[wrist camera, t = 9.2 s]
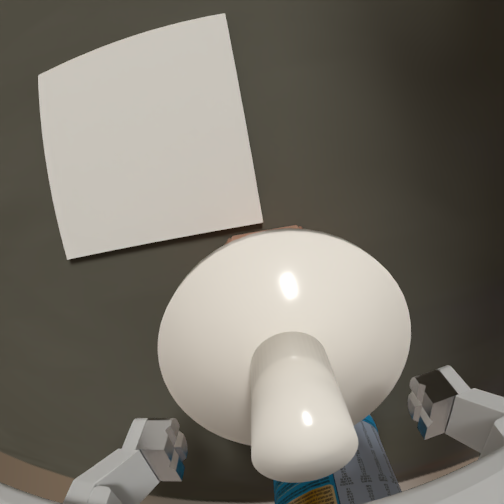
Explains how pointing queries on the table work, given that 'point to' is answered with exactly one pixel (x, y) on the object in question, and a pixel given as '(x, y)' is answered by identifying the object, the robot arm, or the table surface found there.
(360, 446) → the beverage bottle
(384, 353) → the lid
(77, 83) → the mat
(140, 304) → the table surface
